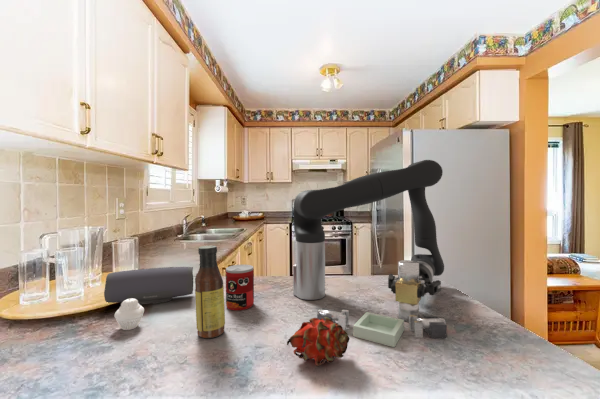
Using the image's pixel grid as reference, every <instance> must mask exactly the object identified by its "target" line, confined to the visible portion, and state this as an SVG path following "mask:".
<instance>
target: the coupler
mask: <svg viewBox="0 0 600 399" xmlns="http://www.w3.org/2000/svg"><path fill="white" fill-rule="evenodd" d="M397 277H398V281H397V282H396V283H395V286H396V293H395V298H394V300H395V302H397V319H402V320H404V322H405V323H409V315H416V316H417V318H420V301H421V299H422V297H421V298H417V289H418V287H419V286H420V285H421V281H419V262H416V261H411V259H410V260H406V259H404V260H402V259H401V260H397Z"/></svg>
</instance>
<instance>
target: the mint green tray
mask: <svg viewBox="0 0 600 399" xmlns="http://www.w3.org/2000/svg"><path fill="white" fill-rule="evenodd" d="M352 326H353V327H352V332H353V334H352V336H354V338H357V339H362V340H366V341H370V342H373V343H376V344H380V345H385V346H387V347H388V346H389V347H392V348H395V347H396V346H397V344H398V342H399V340H400V338H401V336H402V335H403V333H404V331H405V321H404V320H402V319H399V318H398V317H397V318H396V317H394V316H393V317H392V316H389V315H388V316H387V315H384V314H383V315H382V314H378V313H373V312H370V311H369V312H367V311H366V312H365V313H364V314H363V315H362V316H361V317H360V318H359V319H358V320H357V321H356V322H355V323H354V324H353V325H352Z"/></svg>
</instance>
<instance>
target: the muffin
mask: <svg viewBox="0 0 600 399" xmlns="http://www.w3.org/2000/svg"><path fill="white" fill-rule="evenodd" d="M144 312H145V308H144V307H143V306H142V304H139V303H138V300H137V299H134V298H131V299H130V298H129V299H127V300H124V301H123V302H120V306H119V308H118V309H117V310H116V311H115V313H114V315H113V316H114V319H115V320H116V322H117V324H118V325H119V326H120V327H119V328H121V330H123V331H130V330H133V329H136V328H137V327H139V326H138V325H139V324H140V322H141V320H142V318H143V316H144Z"/></svg>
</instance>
